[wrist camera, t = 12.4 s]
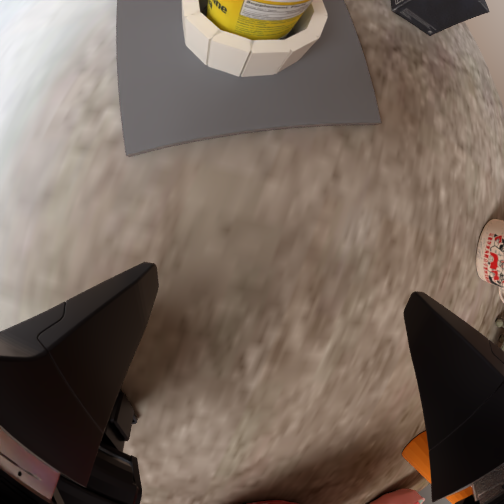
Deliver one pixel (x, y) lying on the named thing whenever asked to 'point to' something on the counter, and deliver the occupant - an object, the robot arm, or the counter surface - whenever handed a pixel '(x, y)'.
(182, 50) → the socket board
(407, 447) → the spray bottle
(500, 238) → the teacup with lid
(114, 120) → the counter surface
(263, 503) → the mixing bowl
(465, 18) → the small box
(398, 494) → the cell model
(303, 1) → the pill bottle
